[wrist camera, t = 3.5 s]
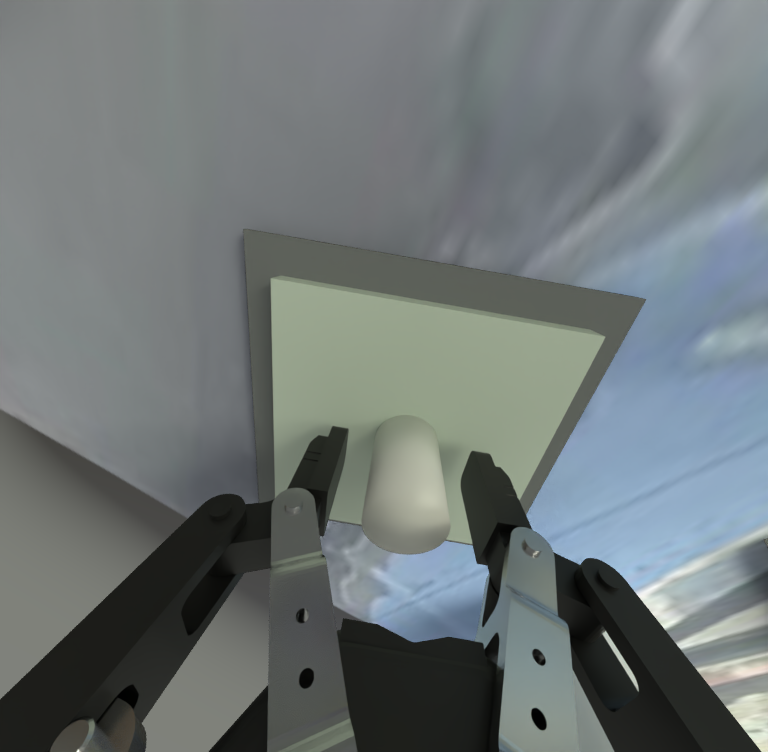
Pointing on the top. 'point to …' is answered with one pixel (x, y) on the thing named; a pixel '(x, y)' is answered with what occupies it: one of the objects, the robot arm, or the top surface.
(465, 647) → the robot arm
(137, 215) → the top surface
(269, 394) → the mat
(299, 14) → the top surface
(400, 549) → the cover
